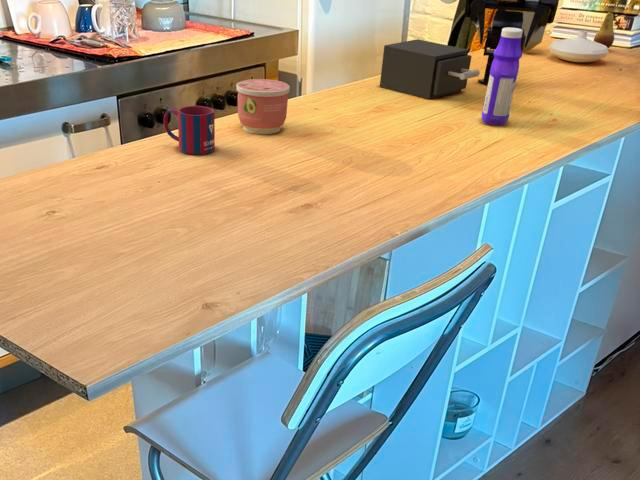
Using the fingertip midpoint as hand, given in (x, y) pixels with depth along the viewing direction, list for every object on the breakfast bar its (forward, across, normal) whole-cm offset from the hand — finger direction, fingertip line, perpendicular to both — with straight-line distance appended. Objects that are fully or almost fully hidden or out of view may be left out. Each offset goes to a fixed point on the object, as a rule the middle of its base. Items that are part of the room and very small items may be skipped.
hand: (503, 44), depth 171 cm
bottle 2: (-38, +6, +62) cm, 73 cm away
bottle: (+15, +1, +3) cm, 16 cm away
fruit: (-48, +28, +72) cm, 91 cm away
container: (+31, -44, -14) cm, 56 cm away
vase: (-35, +21, +58) cm, 71 cm away
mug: (+43, -54, -27) cm, 74 cm away
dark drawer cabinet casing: (-1, -17, +21) cm, 27 cm away
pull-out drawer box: (0, -13, +18) cm, 23 cm away
